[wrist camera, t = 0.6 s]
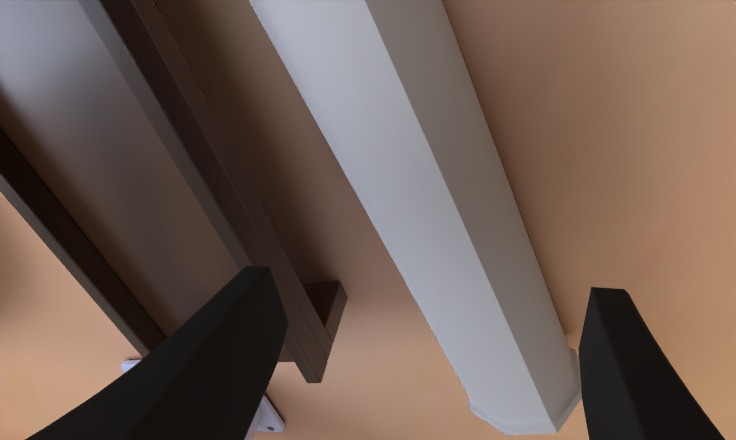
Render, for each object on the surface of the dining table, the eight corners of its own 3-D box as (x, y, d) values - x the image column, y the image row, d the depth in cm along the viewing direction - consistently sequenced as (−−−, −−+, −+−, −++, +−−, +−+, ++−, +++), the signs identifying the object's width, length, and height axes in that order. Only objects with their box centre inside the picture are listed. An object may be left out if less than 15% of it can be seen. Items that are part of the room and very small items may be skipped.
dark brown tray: (211, 308, 29) (166, 385, 25) (-141, -207, 16) (-351, -216, 12) (348, 298, 26) (321, 383, 22) (53, -341, 13) (-140, -412, 9)
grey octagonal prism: (86, -186, 12) (454, 422, 24) (219, -360, 8) (570, 452, 20) (231, -214, 15) (491, 334, 27) (370, -348, 12) (596, 347, 24)
